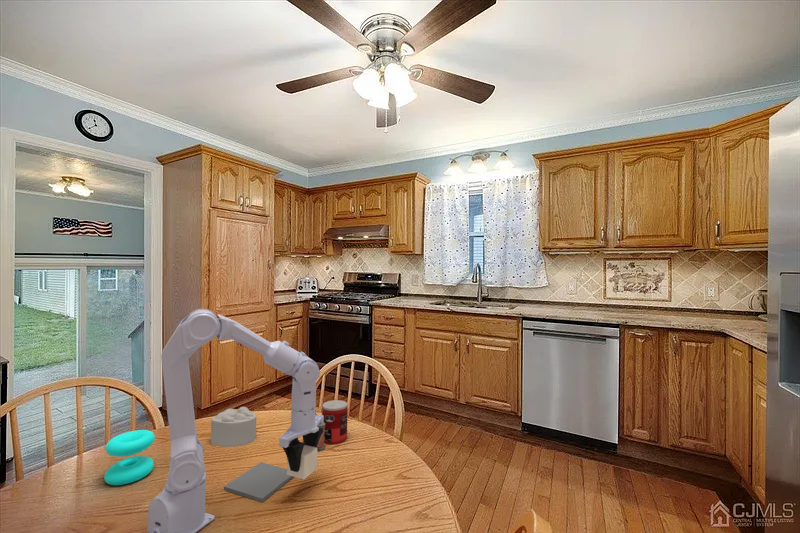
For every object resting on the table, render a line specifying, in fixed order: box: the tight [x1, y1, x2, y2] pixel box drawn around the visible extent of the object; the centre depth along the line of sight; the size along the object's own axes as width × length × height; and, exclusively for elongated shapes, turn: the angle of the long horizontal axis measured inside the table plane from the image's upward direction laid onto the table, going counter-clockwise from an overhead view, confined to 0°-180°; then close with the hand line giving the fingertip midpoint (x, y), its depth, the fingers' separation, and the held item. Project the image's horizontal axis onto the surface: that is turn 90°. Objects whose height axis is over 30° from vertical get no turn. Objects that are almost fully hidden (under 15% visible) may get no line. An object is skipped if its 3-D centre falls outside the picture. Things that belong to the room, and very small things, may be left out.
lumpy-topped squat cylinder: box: [210, 406, 257, 448], centre depth 109 cm, size 10×13×9 cm
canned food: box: [321, 399, 349, 445], centre depth 109 cm, size 8×8×11 cm
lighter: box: [301, 413, 326, 452], centre depth 104 cm, size 8×3×10 cm, turn 62°
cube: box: [286, 445, 318, 480], centre depth 82 cm, size 5×5×5 cm
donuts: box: [103, 429, 156, 486], centre depth 88 cm, size 10×10×10 cm
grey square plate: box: [223, 461, 294, 503], centre depth 86 cm, size 12×12×1 cm
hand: (302, 464), depth 82 cm, fingers closed on cube, 5 cm apart
